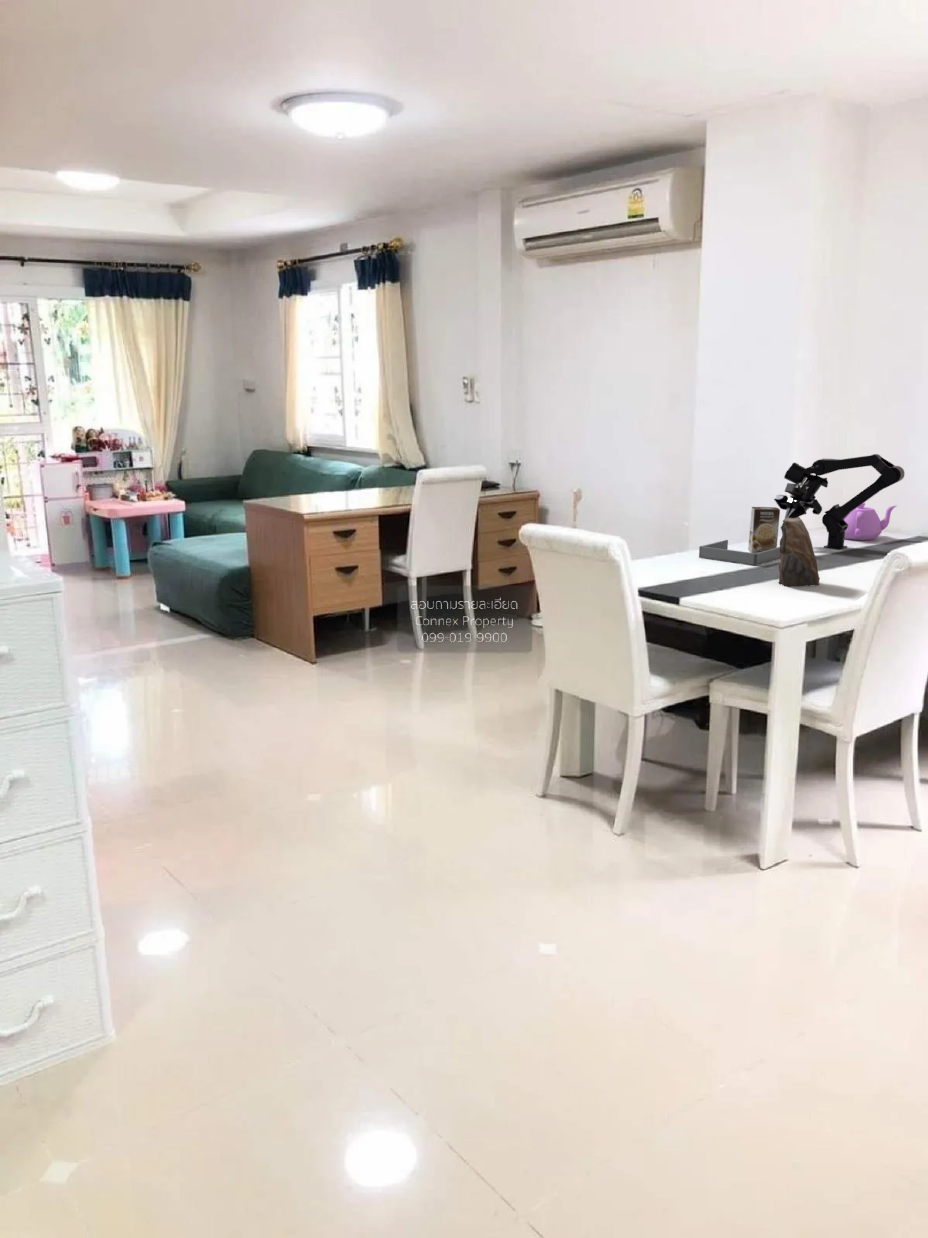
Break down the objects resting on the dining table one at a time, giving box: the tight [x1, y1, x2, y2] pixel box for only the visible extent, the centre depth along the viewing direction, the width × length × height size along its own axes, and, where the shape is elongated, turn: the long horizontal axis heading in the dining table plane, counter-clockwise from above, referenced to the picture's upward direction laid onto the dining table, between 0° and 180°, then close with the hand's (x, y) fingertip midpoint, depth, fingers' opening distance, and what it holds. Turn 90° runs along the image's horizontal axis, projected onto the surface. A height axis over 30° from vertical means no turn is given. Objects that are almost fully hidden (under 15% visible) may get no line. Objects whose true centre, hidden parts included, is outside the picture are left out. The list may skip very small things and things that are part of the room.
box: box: [698, 539, 780, 567], centre depth 344 cm, size 18×22×4 cm
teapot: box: [844, 502, 898, 541], centre depth 379 cm, size 22×22×14 cm
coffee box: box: [747, 506, 781, 553], centre depth 354 cm, size 9×6×16 cm
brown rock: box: [777, 516, 820, 588], centre depth 304 cm, size 13×13×20 cm
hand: (785, 521), depth 359 cm, fingers closed
